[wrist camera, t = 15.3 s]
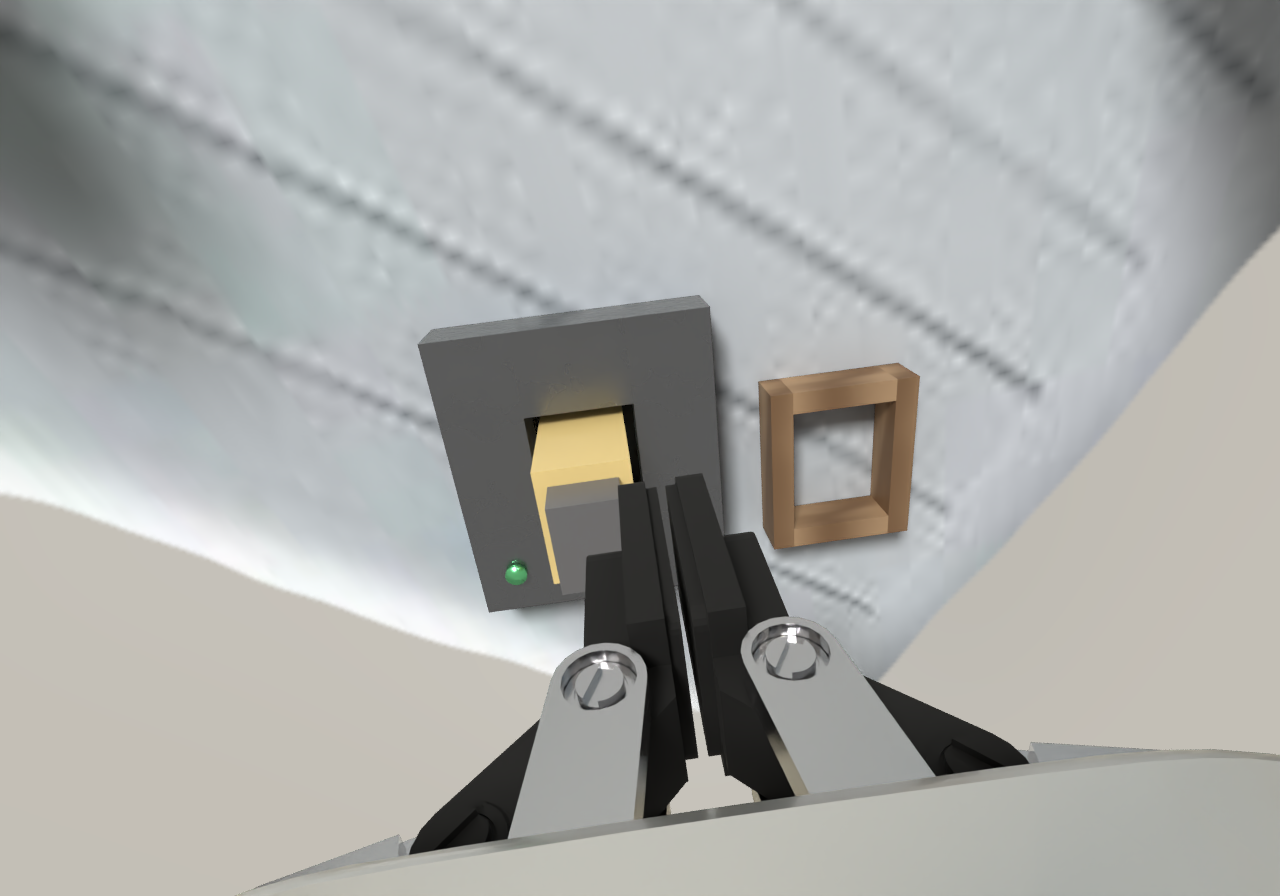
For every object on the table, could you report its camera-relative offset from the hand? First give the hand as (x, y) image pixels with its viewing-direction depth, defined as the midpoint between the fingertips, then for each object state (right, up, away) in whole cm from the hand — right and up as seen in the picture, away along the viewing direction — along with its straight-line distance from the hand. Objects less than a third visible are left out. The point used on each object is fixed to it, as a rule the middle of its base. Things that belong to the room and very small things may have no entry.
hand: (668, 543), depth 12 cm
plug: (-4, +2, +23) cm, 24 cm away
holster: (+11, +2, +25) cm, 27 cm away
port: (-4, +2, +23) cm, 24 cm away
